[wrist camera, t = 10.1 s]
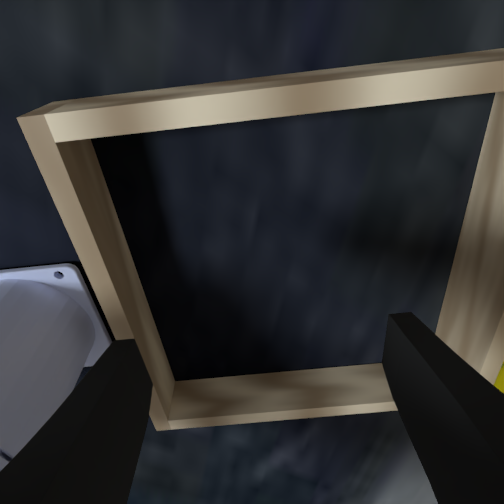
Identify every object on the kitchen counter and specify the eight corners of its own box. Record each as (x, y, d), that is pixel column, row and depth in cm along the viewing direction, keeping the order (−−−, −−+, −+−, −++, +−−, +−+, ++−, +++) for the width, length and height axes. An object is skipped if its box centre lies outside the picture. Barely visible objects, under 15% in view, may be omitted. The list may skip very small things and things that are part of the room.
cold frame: (164, 391, 26) (151, 453, 22) (53, 101, 15) (-8, 128, 11) (440, 366, 25) (475, 427, 22) (531, 45, 14) (634, 53, 11)
